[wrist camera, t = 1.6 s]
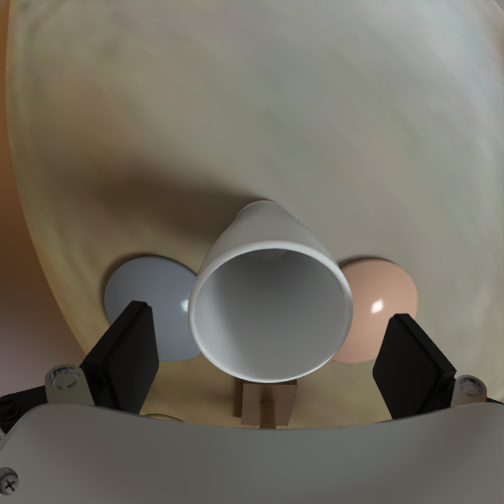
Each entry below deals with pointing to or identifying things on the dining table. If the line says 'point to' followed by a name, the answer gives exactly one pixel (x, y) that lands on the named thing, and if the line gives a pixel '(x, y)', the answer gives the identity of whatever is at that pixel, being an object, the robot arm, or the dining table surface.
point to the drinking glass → (269, 298)
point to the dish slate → (156, 301)
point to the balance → (262, 404)
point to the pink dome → (374, 305)
